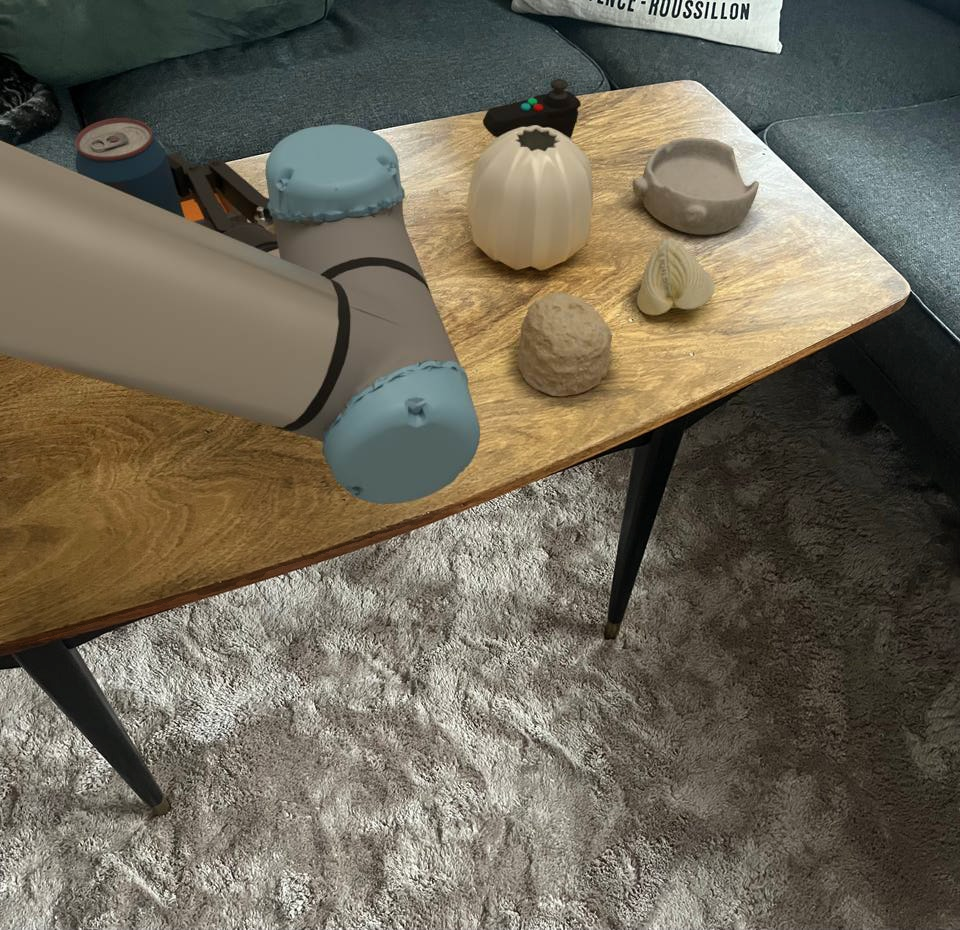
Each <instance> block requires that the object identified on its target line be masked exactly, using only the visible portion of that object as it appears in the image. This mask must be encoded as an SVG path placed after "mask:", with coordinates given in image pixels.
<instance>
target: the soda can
mask: <svg viewBox="0 0 960 930" xmlns="http://www.w3.org/2000/svg"><path fill="white" fill-rule="evenodd" d="M75 147H76V149H77V150H76V154H75V162H74V163H75V164H74V165H75V169H76V172H77V173H79V174H81V175H83V176H86V177H88V178H91V179H93V180H95V181H98V182H100V183H103V184H105V185H107V186H110V187H112V188H114V189H117V190H119V191H122V192H124V193H126V194H129V195H131V196H133V197H136V198H138V199H141V200H143V201H145V202H148V203H150V204H152V205H155V206H157V207H160V208H162V209H164V210H167V211H169V212H171V213H174V214H176V215H179V216H181V217H183V218H185V216H184V213H183V209H182V206H181V202H180V199H179V196H178V192H177V189H176V185H175V182H174V179H173V175H172V172H171V168H170V165H169V162H168V158H167V156H168V155H167V152H166V149H165V146H164V145H163V144H162V142H160V141H159V140H158V139H157V137H156V136H155V135H154V134H153V131H152V129H151V127H150V126H149V125H148V124H147V123H145V122H143V121H140V120H138V119H134V118H127V117H125V118H124V117H114V118H108V119H104V120H100V121H97V122H94V123H92V124H90V125H88V126H86V127H85V128H83V129H82V130H81V131H80V132H79V133H78V134H77V136H76V138H75Z"/></svg>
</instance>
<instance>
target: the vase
mask: <svg viewBox="0 0 960 930" xmlns="http://www.w3.org/2000/svg"><path fill="white" fill-rule="evenodd" d="M474 165H475V166H474V168H473V171H472V173H471V178H470V183H469V187H468V193H467V200H466V203H467V204H466V213H467V219H468V223H469V225H470V226H471V236H472V241H473V243H474V244H475V245H476V246H477V247H478V248H479V249H481V251H482V252H483V253H484V254H485V255H487V257H489V258H490V259H491V260H493V261H494V262H501V263H502V264H504V265H506V266H507V267H509V268H511V269H513V270H515V271H519V270H522V269H526V268H529V267H531V268H533V269H535V270H538V271H545V270H548V269H549V268H552V267H554V266H556V265H558V264H561V263H564V262H565V261H567V260H569V259H570V258H571V257H573V256H574V255H575V254H576V253H577V252H579V251H580V250H581V249H582V248H583V247H585V246H586V244H587V242H588V239H589V236H590V232H591V226H592V212H593V211H592V210H593V205H594V179H593V178H594V177H593V169H592V165H591V162H590V160H589V158H588V155H587V154H586V153H585V152H584V151H583V150H582V149H581V148H580V147H579V146H578V145H576V143H575V142H574V140H572V138H571V139H570V138H569V137H567V136H566V135H564V134H562V133H561V132H559V131H557V130H555V129H552V128H549V127H547V128H542V127H541V126H538V125H533V126H529V127H520V128H517V129H514V130H511V131H509V132H507V133H505V134H503V135H501V136H499V137H495V138H494V139H493V140H492V141H491V142H490V145H489V147H488V148H486V149H485V150H484V151H483V152H481V154H480V156H479V158H478V160H477V161H476V162H475V164H474Z"/></svg>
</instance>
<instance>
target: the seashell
mask: <svg viewBox="0 0 960 930" xmlns="http://www.w3.org/2000/svg"><path fill="white" fill-rule="evenodd" d="M648 258H649V259H648V260H647V263H646V265H645V268H644V269H643V273H642V277H641V282H640V288H639V290H638V293H637V297H636V304H637V307H638V309H639V310H640V312H641V313H644V314H645V315H649V316H660V315H662V314H665V313H667V312H668V311H669V310H671V309H682V310H695V309H698V308H700V307H702V306H704V305H706V304H707V303H708V302H709V301H710V300H711V299H712V297H713V295H714V293H715V281H714V279H713V277H712V275H711V274H710V273H709V272H708V271H707V270H705V268H704V267H703V266H702V265H701V264H700V262H699V260H698V259H697V257H696V256H694V254H692V252H691V251H690V250H688V249H687V248H686V247H685V246H684V245H683V244H681V242H678V241H677V240H676V239H675V238H671V237H665V238H662V240H661V241H660V242H659V243H657V245H656V247H655V249H653V251H652V253H651V254H650V257H648Z"/></svg>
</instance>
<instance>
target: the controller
mask: <svg viewBox="0 0 960 930" xmlns="http://www.w3.org/2000/svg"><path fill="white" fill-rule="evenodd" d="M550 88H552V89H551V90H550V91H548V92H547V93H543V94H538V95H535V96H534V97H531V98H528V99H525V100H521V101H517V102H513V103H507V104H505V105H500V106H495V107H491V108H489V109H488V110H486V113H485V115H484V117H483V119H482V124H483V126H484V128H485V130H487V132H488V133H489V134H491V136H492V137H495V138H497V137H499V136H501V135H503V134H505V133H507V132H509V131H511V130H514V129H517V128H520V127H529V126H533V125H538V126H541V127H542V128H547V127H549V128H552V129H555V130H557V131H559V132H561V133H562V134H564V135H566V136H567V137H569V138H570V139H571V140H572V136H573V134H574V131H575V126H576V124H577V122H578V117H579V108H580V107H581V106H582V103H581V101H580V99H579V98H578V97H577V96H575V94H573V93H572V92H570V91H567V90H566V89H568V88H569V82H568V80H565V79H562V78H555V79H553V80H551V82H550Z"/></svg>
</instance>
